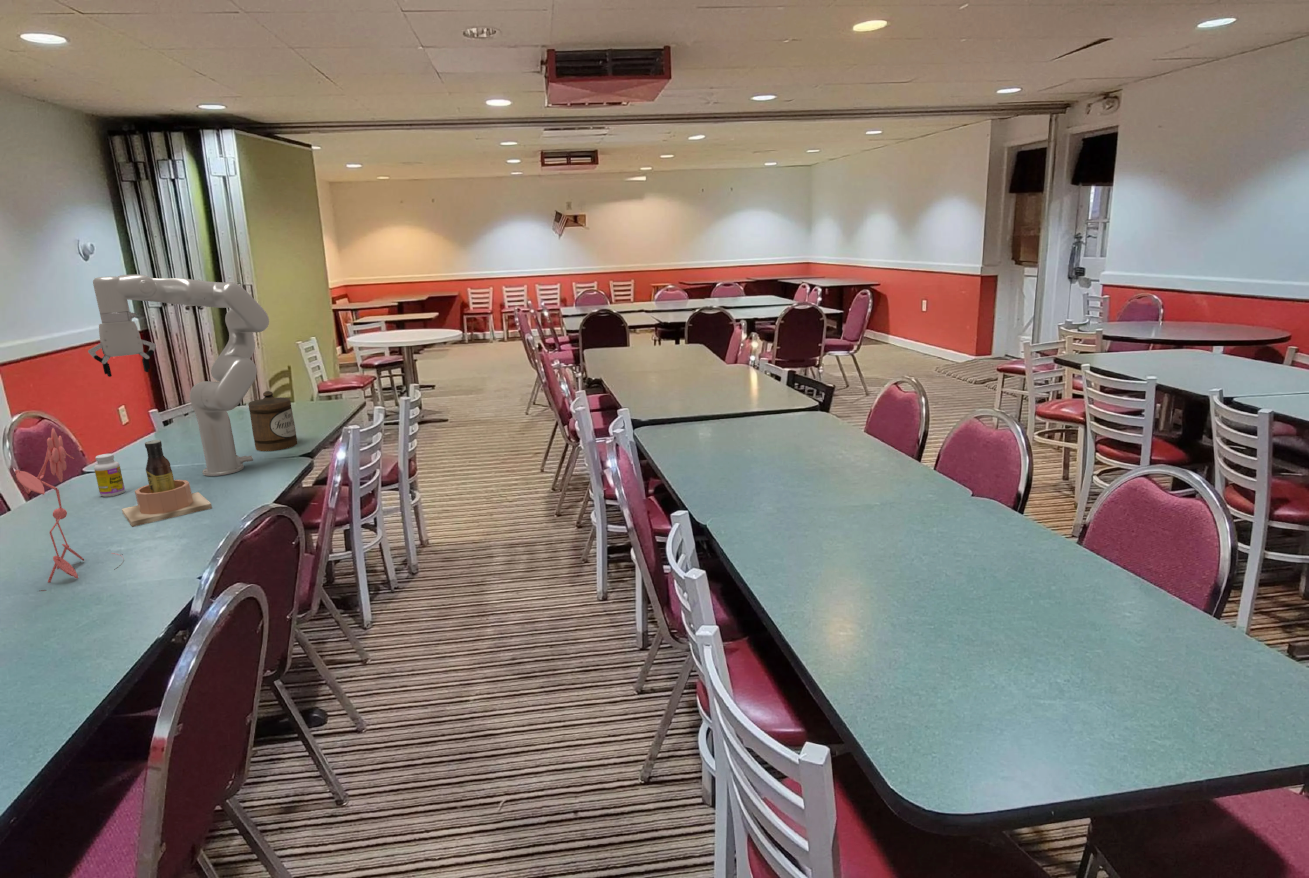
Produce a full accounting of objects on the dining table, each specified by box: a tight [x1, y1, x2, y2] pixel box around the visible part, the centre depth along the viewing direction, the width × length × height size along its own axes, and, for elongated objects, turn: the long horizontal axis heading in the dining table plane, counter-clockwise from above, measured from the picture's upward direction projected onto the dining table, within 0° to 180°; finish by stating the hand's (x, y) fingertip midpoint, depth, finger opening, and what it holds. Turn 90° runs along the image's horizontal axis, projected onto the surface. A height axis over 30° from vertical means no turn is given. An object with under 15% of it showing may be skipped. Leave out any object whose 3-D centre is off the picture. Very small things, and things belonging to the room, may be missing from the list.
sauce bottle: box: [144, 439, 176, 493], centre depth 219 cm, size 6×6×20 cm
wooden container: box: [248, 390, 298, 452], centre depth 289 cm, size 15×15×22 cm
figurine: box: [14, 427, 125, 592], centre depth 177 cm, size 15×26×35 cm, turn 27°
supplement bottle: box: [93, 453, 126, 498], centre depth 238 cm, size 7×7×13 cm
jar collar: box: [134, 479, 193, 514], centre depth 220 cm, size 13×13×6 cm
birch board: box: [121, 491, 213, 528], centre depth 221 cm, size 20×16×2 cm
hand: (128, 374), depth 231 cm, fingers open, 9 cm apart
